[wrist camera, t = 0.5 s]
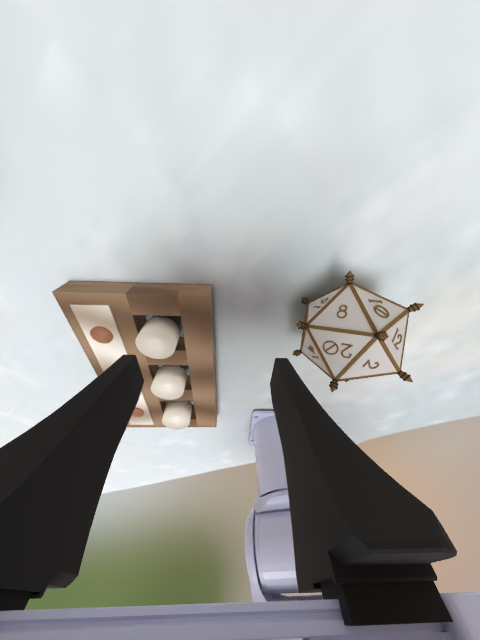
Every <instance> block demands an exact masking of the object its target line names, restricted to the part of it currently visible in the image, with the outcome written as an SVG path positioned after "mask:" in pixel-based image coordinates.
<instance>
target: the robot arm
mask: <svg viewBox="0 0 480 640" xmlns="http://www.w3.org/2000/svg"><path fill="white" fill-rule="evenodd" d="M143 384H144V379H143V376H142V372H141V369H140V366H139V363H138V360H137V357H136V355H125V354H123V355H122V356H121V357H120V358H119V359H118V360H116V361H115V362H114V363H113V364H112V365H111V366H110V367H108V368H107V369H106V370H105V371H104V372H103V373H102V374H100V375H99V376H98V377H97V378H96V379H95V380H93V381H92V382H91V383H90V384H89V385H88V386H86V387H85V388H84V389H83V390H82V391H80V392H79V393H78V394H76V395H75V396H74V397H73V398H71V399H70V400H69V401H68V402H66V403H65V404H64V405H63V406H61V407H60V408H59V409H57V410H56V411H55V412H53V413H52V414H51V415H49V416H48V417H46V418H45V419H44V420H42V421H41V422H39V423H38V424H36V425H35V426H34V427H32V428H31V429H29V430H28V431H26V432H25V433H23V434H22V435H20V436H18V437H17V438H15V439H14V440H12V441H11V442H9V443H8V444H6V445H4V446H3V447H1V448H0V640H264V639H265V640H266V639H268V640H480V592H465V593H442V594H439V592H438V590H437V587H436V585H435V584H434V581H436V580H437V576H436V574H435V572H434V570H433V568H432V566H431V564H430V563H432V562H436V561H441V560H445V559H449V558H452V557H454V556H456V554H457V551H456V549H455V547H454V545H453V544H452V542H451V540H450V539H449V537H448V535H447V533H446V532H445V530H444V528H443V527H442V525H441V523H440V522H439V520H438V519H437V517H436V516H435V514H434V513H433V511H432V510H431V509H430V508H428V507H427V506H426V505H425V504H423V503H422V502H421V501H420V500H418V499H417V498H416V497H415V496H413V495H412V494H411V493H410V492H408V491H407V490H406V489H405V488H403V487H402V486H401V485H400V484H399V483H397V482H396V481H395V480H394V479H393V478H392V477H391V476H389V475H388V474H387V473H386V472H385V471H384V470H383V469H381V468H380V467H379V466H378V465H377V464H376V463H375V462H374V461H373V460H372V459H371V458H369V457H368V456H367V455H366V454H365V453H364V452H363V451H362V450H361V449H360V448H359V447H358V446H357V445H356V444H355V443H354V442H353V441H352V440H351V439H350V438H349V437H348V436H347V435H346V434H345V433H344V432H343V431H342V430H341V428H340V427H339V426H338V425H337V424H336V423H335V422H334V421H333V420H332V418H331V417H330V416H329V415H328V414H327V413H326V411H325V410H324V409H323V408H322V407H321V405H320V404H319V403H318V402H317V400H316V399H315V398H314V396H313V395H312V394H311V392H310V391H309V390H308V388H307V387H306V386H305V384H304V383H303V381H302V380H301V378H300V377H299V375H298V374H297V372H296V371H295V369H294V368H293V366H292V365H291V363H290V361H289V360H288V359H287V358H276V359H275V363H274V368H273V372H272V377H271V382H270V387H271V396H272V404H273V408H274V411H254V412H253V413H252V420H251V427H250V435H249V445H255V456H256V469H257V483H258V495H259V498H256V499H255V508H252V509H251V510H250V513H249V515H248V517H247V520H246V526H245V555H246V564H247V570H248V575H249V579H250V583H251V591H252V600H253V602H245V603H214V604H188V605H187V604H186V605H159V606H158V605H157V606H129V607H104V608H103V607H100V608H72V609H44V610H24V609H25V607H26V604H27V603H28V600H29V599H35V598H41V597H42V596H43V594H44V592H45V590H46V588H66V587H67V586H68V585H70V583H72V582H73V580H75V578H76V577H77V576H78V573H79V570H80V566H81V562H82V558H83V554H84V551H85V547H86V543H87V539H88V536H89V532H90V529H91V525H92V522H93V519H94V515H95V512H96V508H97V505H98V502H99V498H100V496H101V493H102V489H103V486H104V483H105V480H106V477H107V474H108V471H109V468H110V466H111V463H112V460H113V457H114V454H115V452H116V449H117V447H118V445H119V442H120V440H121V438H122V436H123V434H124V431H125V429H126V427H127V425H128V422H129V420H130V418H131V416H132V414H133V411H134V409H135V407H136V405H137V402H138V400H139V397H140V394H141V390H142V387H143ZM314 592H322V595H309V596H284V595H281V593H314Z"/></svg>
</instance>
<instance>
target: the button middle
mask: <svg viewBox="0 0 480 640" xmlns="http://www.w3.org/2000/svg"><path fill="white" fill-rule="evenodd" d="M186 380H187V372H186V371H185V370H184V369H183V368H182V367H180V366H177V365H163V366H161V367H159V368H158V370H157V373H156V375H155V378H154V380H153V383H152V385H151V391H152V393H153V394H154V395H155V396H157V397H159V398H162V399H166V400H174V399H178V398H180V397H181V396H182V395H183V393H184V388H185V384H186Z"/></svg>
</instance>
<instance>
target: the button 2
mask: <svg viewBox="0 0 480 640" xmlns="http://www.w3.org/2000/svg"><path fill="white" fill-rule="evenodd" d="M191 413H192V404H191V403H190V402H188V401H168V402H167V404H166V407H165V411H164V414H163V418H162V423H163V425H164V426H166V427H168V428H171V429H183V428H186V427H188V426H189V424H190V418H191Z"/></svg>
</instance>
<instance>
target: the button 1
mask: <svg viewBox="0 0 480 640" xmlns="http://www.w3.org/2000/svg"><path fill="white" fill-rule="evenodd" d="M179 337H180V329H179V327H178V325H177V324H176V323H175V322H174V321H173V320H171V319H169V318H167V317H162V316H155V317H152V318H150V319H148V320H147V321H146V322H145V324H144V326H143V327H142V329H141V331H140V332H139V334H138V336H137V337H136V341H135V343H136V346H137V348H138V350H139V351H140V352H141V353H142V354H144V355H146V356H148V357H150V358H154V359H165V358H168V357H170V356H171V355H172V354H173V353H174V351H175V348H176V346H177V343H178V340H179Z"/></svg>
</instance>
